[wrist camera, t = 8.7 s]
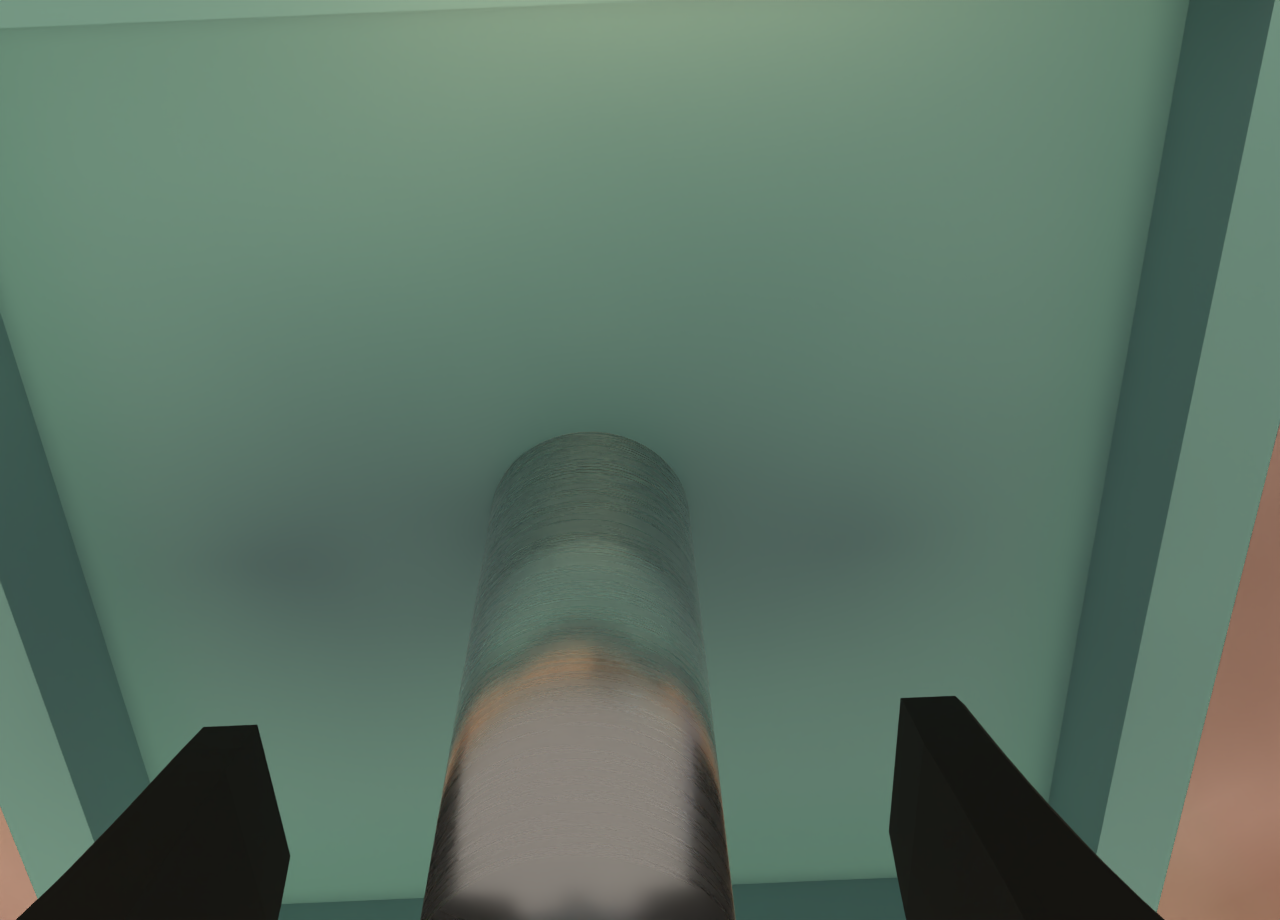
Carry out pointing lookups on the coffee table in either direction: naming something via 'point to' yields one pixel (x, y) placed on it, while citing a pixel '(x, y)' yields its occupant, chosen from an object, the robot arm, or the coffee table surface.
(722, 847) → the pin
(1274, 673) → the coffee table surface
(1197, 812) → the coffee table surface
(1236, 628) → the coffee table surface
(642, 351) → the tray
